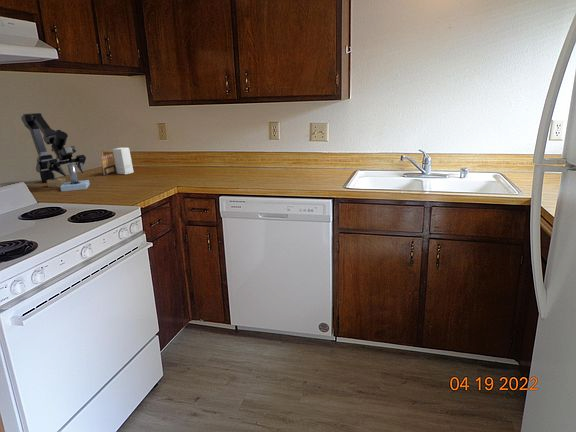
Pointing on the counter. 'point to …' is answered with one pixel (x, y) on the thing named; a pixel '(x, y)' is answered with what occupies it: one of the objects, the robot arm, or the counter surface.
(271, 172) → the counter surface
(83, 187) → the holder
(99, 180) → the counter surface
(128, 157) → the skincare box
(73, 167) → the round bit
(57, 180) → the square bit
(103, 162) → the brown flat upright board
